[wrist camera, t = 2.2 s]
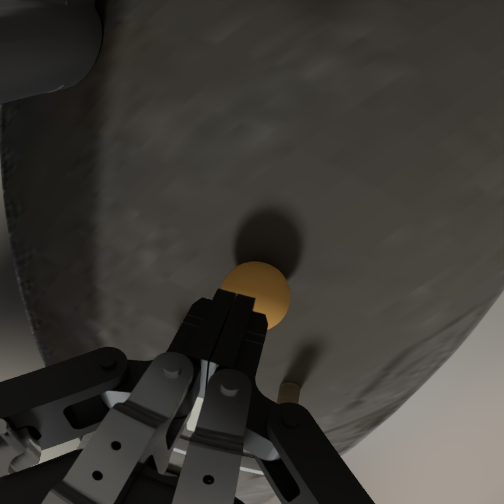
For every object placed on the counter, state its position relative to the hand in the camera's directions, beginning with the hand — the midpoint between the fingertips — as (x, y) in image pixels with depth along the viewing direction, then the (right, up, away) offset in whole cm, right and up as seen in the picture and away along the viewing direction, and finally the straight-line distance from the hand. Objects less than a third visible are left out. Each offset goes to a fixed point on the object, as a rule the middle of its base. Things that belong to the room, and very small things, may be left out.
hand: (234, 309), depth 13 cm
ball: (+1, -1, +15) cm, 15 cm away
